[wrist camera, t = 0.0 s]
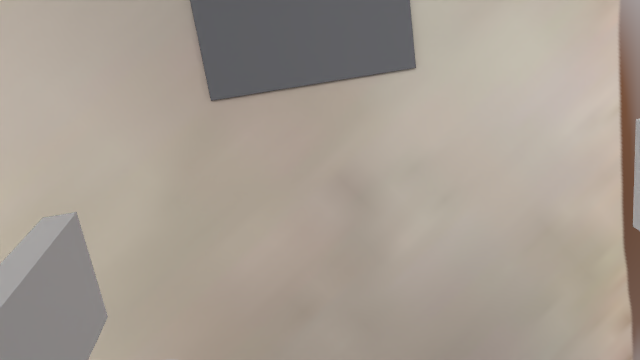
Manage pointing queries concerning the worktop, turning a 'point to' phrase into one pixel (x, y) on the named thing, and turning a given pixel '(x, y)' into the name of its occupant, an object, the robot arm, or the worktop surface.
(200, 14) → the mat
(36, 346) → the robot arm
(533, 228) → the worktop surface
